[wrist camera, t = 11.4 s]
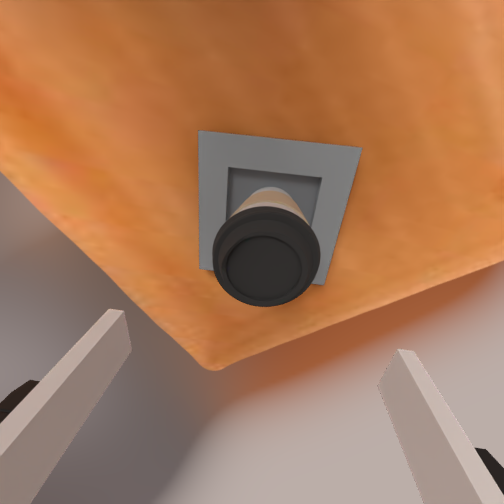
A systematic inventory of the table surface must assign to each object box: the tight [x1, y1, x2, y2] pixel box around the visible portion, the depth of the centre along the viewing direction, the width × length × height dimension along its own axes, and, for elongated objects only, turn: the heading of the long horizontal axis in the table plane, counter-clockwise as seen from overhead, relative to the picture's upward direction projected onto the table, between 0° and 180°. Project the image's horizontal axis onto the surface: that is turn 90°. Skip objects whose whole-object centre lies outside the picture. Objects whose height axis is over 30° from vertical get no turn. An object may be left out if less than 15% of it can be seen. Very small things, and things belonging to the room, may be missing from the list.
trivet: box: [198, 130, 362, 285], centre depth 31 cm, size 18×18×2 cm
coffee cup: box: [212, 187, 321, 307], centre depth 24 cm, size 9×9×15 cm
